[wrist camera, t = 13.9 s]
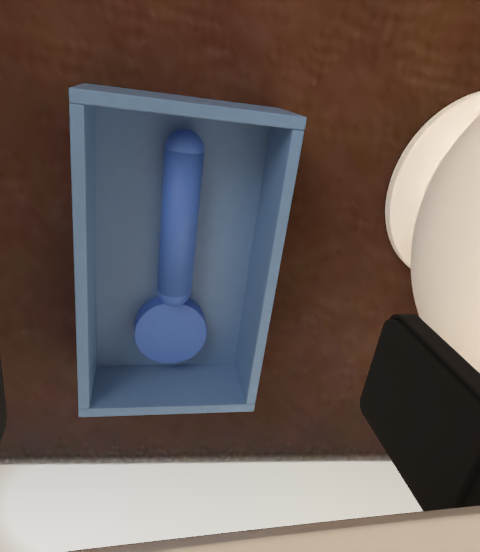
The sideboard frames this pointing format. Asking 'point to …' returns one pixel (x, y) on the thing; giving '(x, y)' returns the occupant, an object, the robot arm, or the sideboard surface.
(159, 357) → the blue spoon
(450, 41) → the sideboard surface
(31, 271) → the sideboard surface
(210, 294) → the blue bin
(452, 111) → the decorative vase
